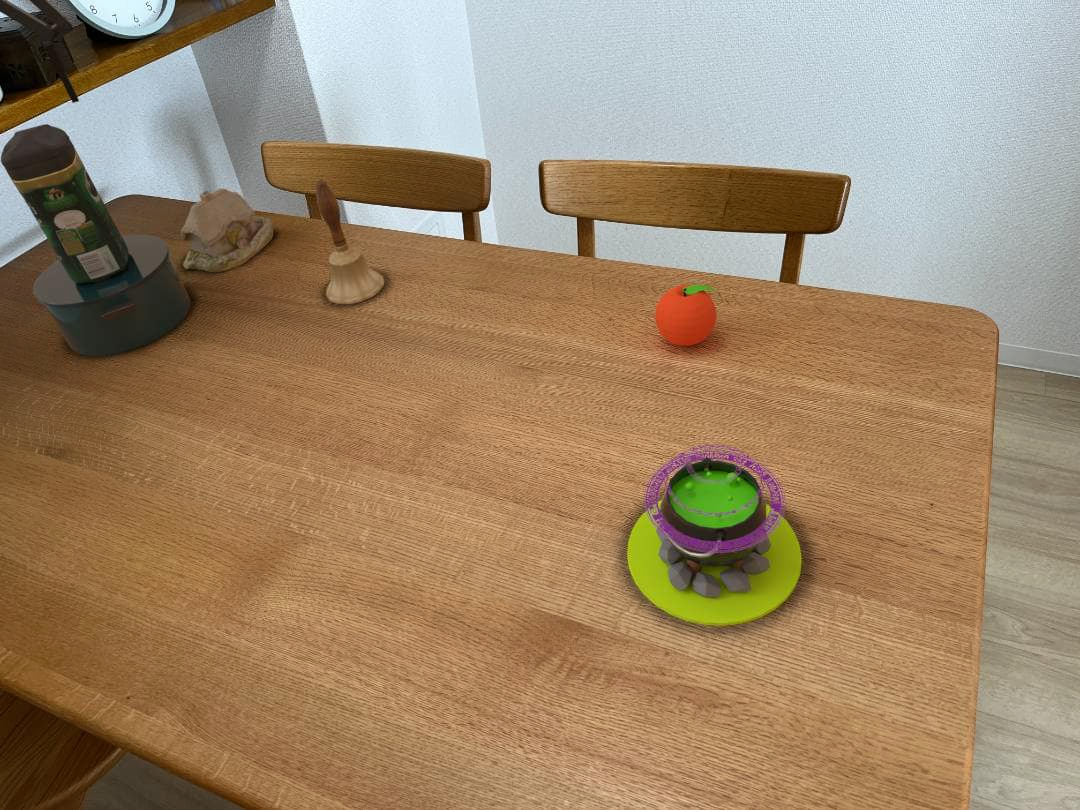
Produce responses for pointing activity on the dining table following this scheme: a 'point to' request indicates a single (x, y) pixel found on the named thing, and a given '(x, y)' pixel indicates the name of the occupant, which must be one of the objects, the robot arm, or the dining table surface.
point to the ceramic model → (223, 232)
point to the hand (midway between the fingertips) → (15, 116)
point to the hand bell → (345, 257)
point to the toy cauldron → (714, 542)
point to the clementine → (686, 314)
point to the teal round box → (117, 301)
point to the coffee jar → (65, 203)
